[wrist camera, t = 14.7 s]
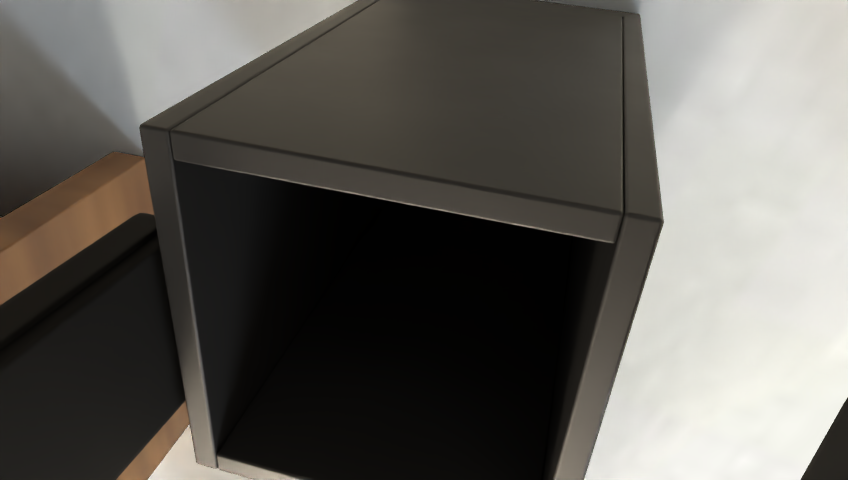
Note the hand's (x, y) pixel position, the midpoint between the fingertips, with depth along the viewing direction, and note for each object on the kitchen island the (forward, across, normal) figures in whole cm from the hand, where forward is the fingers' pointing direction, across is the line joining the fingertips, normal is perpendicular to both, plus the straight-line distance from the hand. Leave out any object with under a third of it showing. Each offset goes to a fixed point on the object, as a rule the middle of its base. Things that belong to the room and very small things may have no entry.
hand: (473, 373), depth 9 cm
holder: (+9, +2, 0) cm, 9 cm away
